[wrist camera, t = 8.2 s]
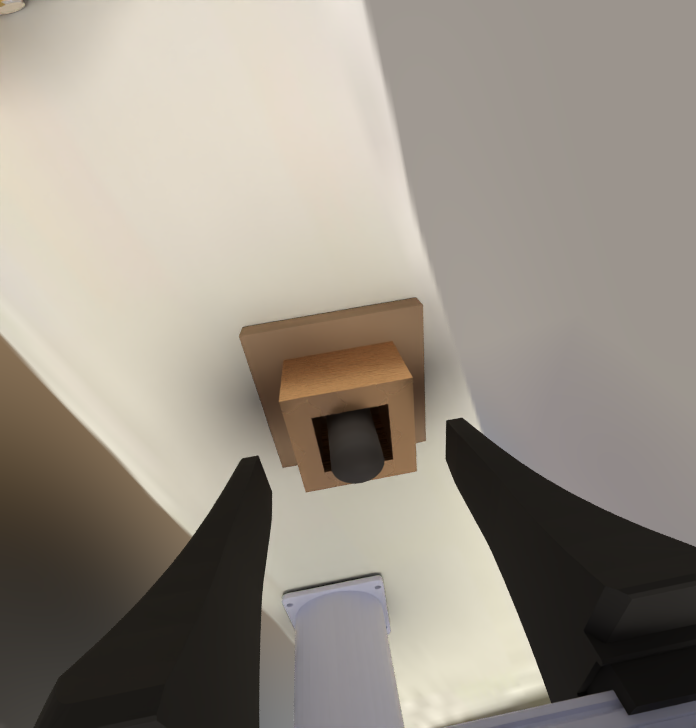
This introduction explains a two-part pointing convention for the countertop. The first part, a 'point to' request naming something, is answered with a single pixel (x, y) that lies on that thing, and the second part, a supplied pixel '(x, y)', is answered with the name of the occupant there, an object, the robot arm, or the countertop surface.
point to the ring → (10, 6)
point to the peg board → (326, 334)
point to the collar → (348, 407)
